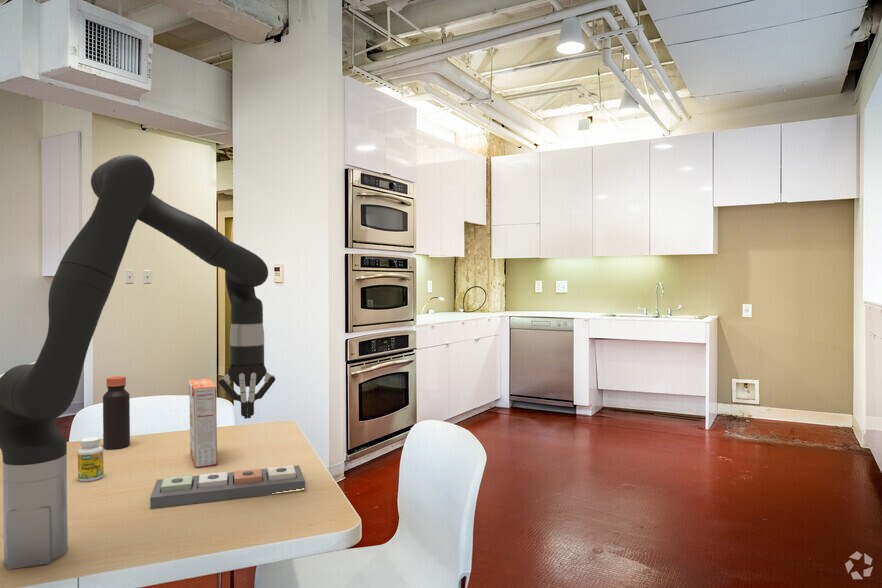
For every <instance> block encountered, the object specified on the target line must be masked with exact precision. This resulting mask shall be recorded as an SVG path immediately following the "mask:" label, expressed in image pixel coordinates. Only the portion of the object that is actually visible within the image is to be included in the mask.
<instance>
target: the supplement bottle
mask: <svg viewBox="0 0 882 588" xmlns="http://www.w3.org/2000/svg"><path fill="white" fill-rule="evenodd" d="M100 440H101V439H100V437H99V436H98V437H97V436H93V437H92V436H91V437H84V438H82V439H81V440H80V446H81V447H80V448H79V449H78V450H77V478H78V481H79V482H93V481H98V480H99V479H102V478H103V477H104V475H105V471H104V447H103V446H102V445H100V443H101V441H100Z"/></svg>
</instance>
